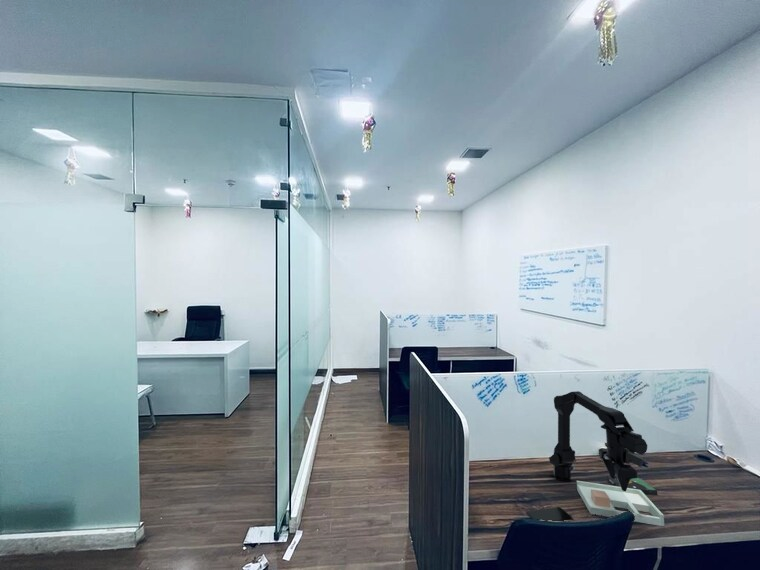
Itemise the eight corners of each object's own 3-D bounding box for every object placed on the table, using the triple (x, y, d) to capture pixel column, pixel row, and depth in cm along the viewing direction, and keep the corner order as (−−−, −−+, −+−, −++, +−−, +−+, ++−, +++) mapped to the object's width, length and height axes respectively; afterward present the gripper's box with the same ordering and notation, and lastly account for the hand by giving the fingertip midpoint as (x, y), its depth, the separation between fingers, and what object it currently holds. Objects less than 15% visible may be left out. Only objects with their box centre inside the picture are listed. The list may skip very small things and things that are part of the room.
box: (590, 513, 122) (590, 503, 123) (577, 489, 139) (576, 480, 139) (664, 526, 115) (663, 515, 116) (641, 499, 131) (640, 489, 132)
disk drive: (622, 495, 136) (658, 496, 134) (622, 488, 136) (657, 489, 135) (607, 482, 146) (640, 483, 145) (606, 476, 146) (639, 476, 145)
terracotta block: (595, 505, 124) (595, 496, 124) (591, 498, 128) (590, 489, 129) (610, 507, 122) (609, 498, 122) (605, 500, 127) (604, 491, 127)
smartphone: (559, 508, 126) (525, 513, 123) (559, 506, 126) (524, 510, 123) (575, 521, 118) (538, 526, 116) (575, 519, 118) (538, 524, 116)
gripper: (653, 456, 112) (657, 501, 110) (627, 436, 129) (630, 475, 128) (617, 452, 114) (620, 496, 113) (596, 433, 132) (599, 471, 131)
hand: (618, 484), depth 121 cm, fingers open, 9 cm apart
